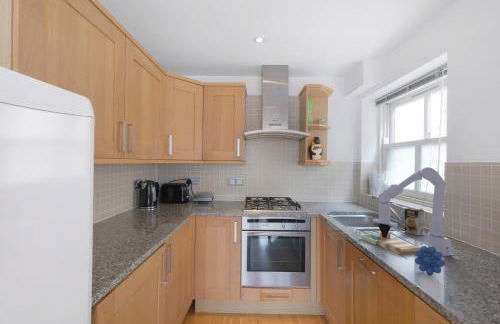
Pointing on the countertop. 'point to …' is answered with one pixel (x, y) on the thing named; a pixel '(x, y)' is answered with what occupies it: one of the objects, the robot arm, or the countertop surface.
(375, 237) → the slate tile
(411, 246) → the birch board
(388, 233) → the terracotta tile
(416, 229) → the coffee box
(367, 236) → the tray
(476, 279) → the countertop surface
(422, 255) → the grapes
